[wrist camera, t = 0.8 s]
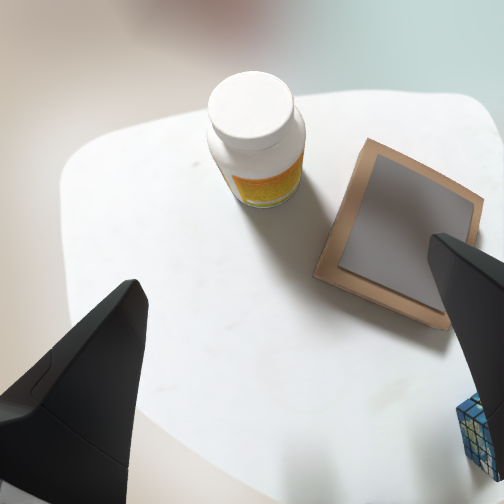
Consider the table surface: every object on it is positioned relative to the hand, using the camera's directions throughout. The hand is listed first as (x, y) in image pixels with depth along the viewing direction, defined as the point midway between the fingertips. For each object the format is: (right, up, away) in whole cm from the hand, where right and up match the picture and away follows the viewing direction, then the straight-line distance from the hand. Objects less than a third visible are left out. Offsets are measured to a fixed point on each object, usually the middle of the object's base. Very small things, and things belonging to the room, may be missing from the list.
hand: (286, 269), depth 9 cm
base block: (+10, +1, +12) cm, 16 cm away
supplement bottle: (0, +6, +14) cm, 15 cm away
